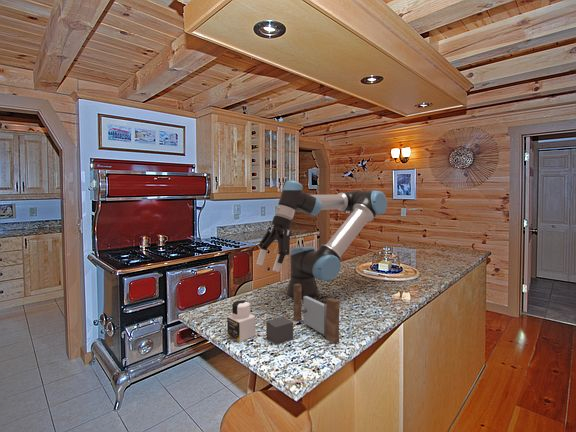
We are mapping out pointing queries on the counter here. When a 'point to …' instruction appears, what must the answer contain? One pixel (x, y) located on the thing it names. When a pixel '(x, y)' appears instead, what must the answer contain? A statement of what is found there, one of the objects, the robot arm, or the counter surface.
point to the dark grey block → (279, 330)
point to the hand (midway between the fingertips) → (267, 267)
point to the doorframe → (331, 314)
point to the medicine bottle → (241, 321)
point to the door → (314, 314)
